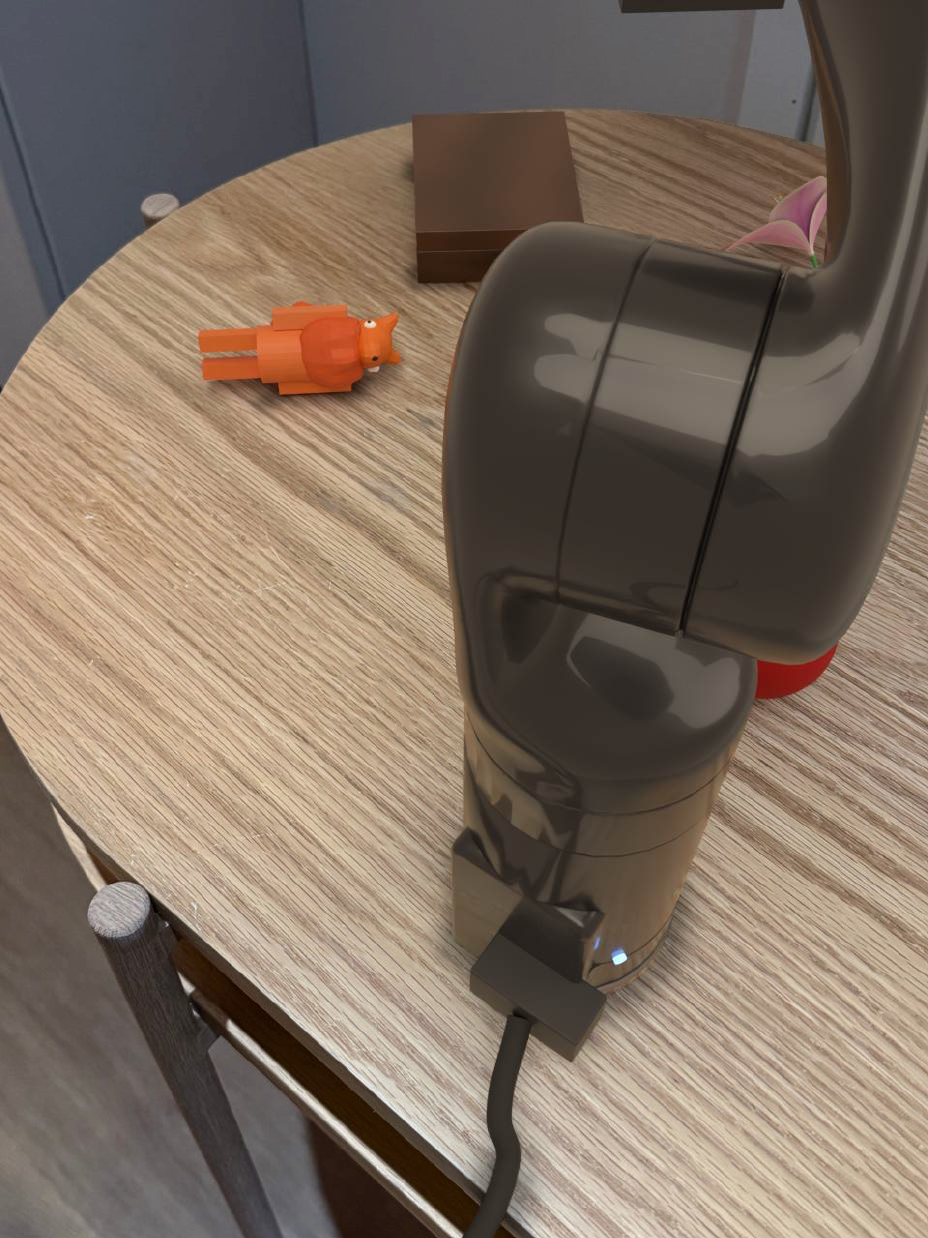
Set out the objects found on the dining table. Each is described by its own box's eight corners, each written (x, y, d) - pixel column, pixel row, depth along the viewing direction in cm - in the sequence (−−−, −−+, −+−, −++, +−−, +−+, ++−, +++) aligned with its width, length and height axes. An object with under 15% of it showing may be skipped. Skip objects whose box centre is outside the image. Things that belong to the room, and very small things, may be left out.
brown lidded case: (560, 161, 86) (564, 110, 83) (580, 278, 78) (585, 227, 74) (413, 164, 86) (411, 114, 82) (417, 283, 77) (415, 232, 74)
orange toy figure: (189, 330, 66) (399, 321, 66) (204, 287, 72) (396, 278, 72) (202, 412, 68) (403, 402, 69) (216, 363, 75) (400, 355, 75)
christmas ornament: (723, 590, 62) (762, 460, 54) (843, 656, 59) (903, 530, 51) (653, 677, 58) (684, 552, 50) (777, 751, 56) (830, 632, 48)
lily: (866, 248, 81) (839, 112, 76) (938, 292, 71) (912, 138, 66) (705, 313, 83) (668, 183, 78) (753, 365, 73) (714, 220, 68)
